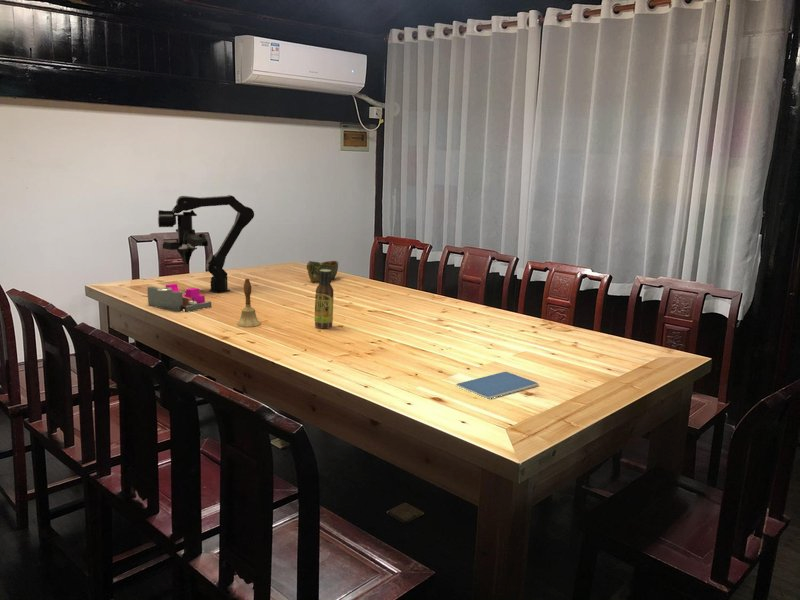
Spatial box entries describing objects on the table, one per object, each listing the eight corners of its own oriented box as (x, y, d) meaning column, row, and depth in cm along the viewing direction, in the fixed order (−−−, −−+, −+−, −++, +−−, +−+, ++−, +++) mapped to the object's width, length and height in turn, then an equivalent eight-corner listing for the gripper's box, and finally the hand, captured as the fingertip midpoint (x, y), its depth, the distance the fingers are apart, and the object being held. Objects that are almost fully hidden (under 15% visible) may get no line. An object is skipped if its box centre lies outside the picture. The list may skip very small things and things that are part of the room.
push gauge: (174, 298, 260) (173, 280, 259) (211, 307, 248) (210, 287, 247) (141, 305, 248) (140, 285, 247) (178, 313, 236) (177, 293, 235)
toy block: (205, 306, 249) (204, 287, 248) (191, 309, 244) (190, 290, 243) (179, 301, 258) (179, 282, 256) (166, 303, 252) (165, 284, 251)
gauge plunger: (163, 300, 253) (163, 290, 252) (197, 308, 242) (196, 297, 241) (160, 301, 252) (159, 290, 251) (193, 308, 241) (193, 298, 240)
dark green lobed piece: (296, 279, 309) (296, 258, 307) (334, 277, 320) (334, 256, 318) (308, 284, 299) (308, 262, 297) (346, 281, 310) (347, 260, 307)
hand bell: (236, 327, 220) (235, 281, 217) (236, 321, 228) (235, 277, 224) (261, 326, 222) (261, 280, 219) (260, 321, 230) (259, 276, 227)
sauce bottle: (311, 327, 223) (311, 270, 218) (320, 323, 228) (320, 267, 224) (327, 330, 220) (328, 272, 216) (336, 326, 226) (337, 269, 222)
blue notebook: (487, 402, 160) (488, 397, 159) (453, 387, 169) (453, 383, 169) (540, 387, 171) (540, 383, 171) (505, 375, 181) (505, 370, 181)
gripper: (178, 230, 255) (180, 269, 258) (216, 227, 270) (217, 264, 273) (160, 227, 261) (162, 266, 264) (198, 224, 276) (199, 261, 279)
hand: (186, 264), depth 270 cm, fingers closed
